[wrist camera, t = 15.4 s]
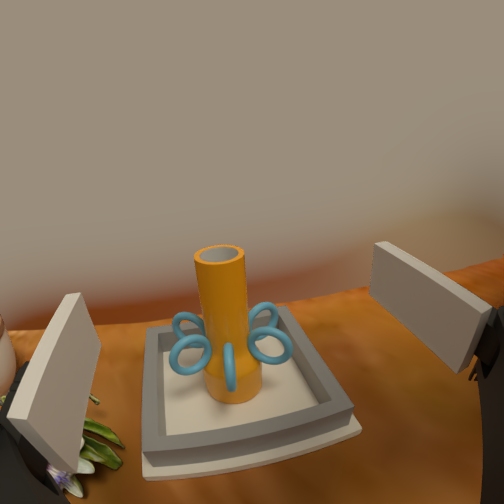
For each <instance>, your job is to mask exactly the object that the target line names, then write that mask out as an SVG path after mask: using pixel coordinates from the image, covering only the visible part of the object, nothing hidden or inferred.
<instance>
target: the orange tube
mask: <svg viewBox="0 0 504 504" xmlns="http://www.w3.org/2000/svg"><path fill="white" fill-rule="evenodd" d="M194 262H195V269H196V276H197V282H198V289H199V296H200V302H201V309H202V315H203V320H202V319H201V318H200V317H198V316H197V315H195V314H193V313H190V312H180V313H178V314H177V315H176V316H174V318H173V321H172V328H173V331H174V333H175V335H176V336H177V338H178V339H179V341H178V342H177V343H176V344H175V345H174V346H173V348H172V349H171V351H170V354H169V364H170V367H171V369H172V370H173V371H174V372H175V373H177V374H179V375H184V376H188V375H193V374H195V373H197V372H199V371H201V370H203V375H204V379H205V384H206V387H207V390H208V392H209V394H210V395H211V396H212V397H213V398H214V399H216V400H218V401H220V402H223V403H227V404H239V403H243V402H247V401H249V400H251V399H252V398H254V397H255V396H256V395H257V394H258V393H259V391H260V389H261V387H262V362H263V363H265V364H269V365H279V364H282V363H285V362H286V361H288V360H289V359H290V357H291V356H292V353H293V345H292V342H291V340H290V338H289V337H288V336H287V335H286V334H285V333H284V332H282V331H281V330H279V329H276V328H275V326H276V324H277V321H278V310H277V308H276V306H275V305H274V304H273V303H270V302H262V303H260V304H257V305H256V306H255V307H253V308H252V309H251V310H250V312H249V313H248V302H247V288H246V272H245V257H244V250H243V249H241V248H239V247H237V246H232V245H216V246H211V247H207V248H204V249H201V250H199V251H198V252H196V253H195V255H194ZM263 310H269V311H270V313H271V319H270V322H269V324H268V325H267V326H265V327H259V328H256V329H254V330H253V331H252V323H253V320H254V319H255V317H256V316H257V315H258V314H259V313H260V312H261V311H263ZM182 320H189V321H191V322H193V323H194V324H196V325H197V326H198V327H199V328H200V330H201V332H202V334H203V336H202V335H197V334H193V335H188V336H185V335H184V333H183V332H182V331H181V329H180V322H181V321H182ZM267 336H272V337H275V338H276V339H278V340H279V341H280V342H281V343H282V344H283V346H284V353H283V354H282V355H280V356H277V357H271V356H267V355H265V354H263V353H261V352H260V350H259V349H258V347H257V346H256V344H255V341H259V340H262V339H264V338H266V337H267ZM186 346H189V347H192V348H204V351H203V353H202V356H201V359H200V360H199V361H198V362H197V363H196V364H195V365H193V366H191V367H181V366H180V365H179V364H178V356H179V354H180V352H181V351H182V350H183V349H184V348H185V347H186Z"/></svg>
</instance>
